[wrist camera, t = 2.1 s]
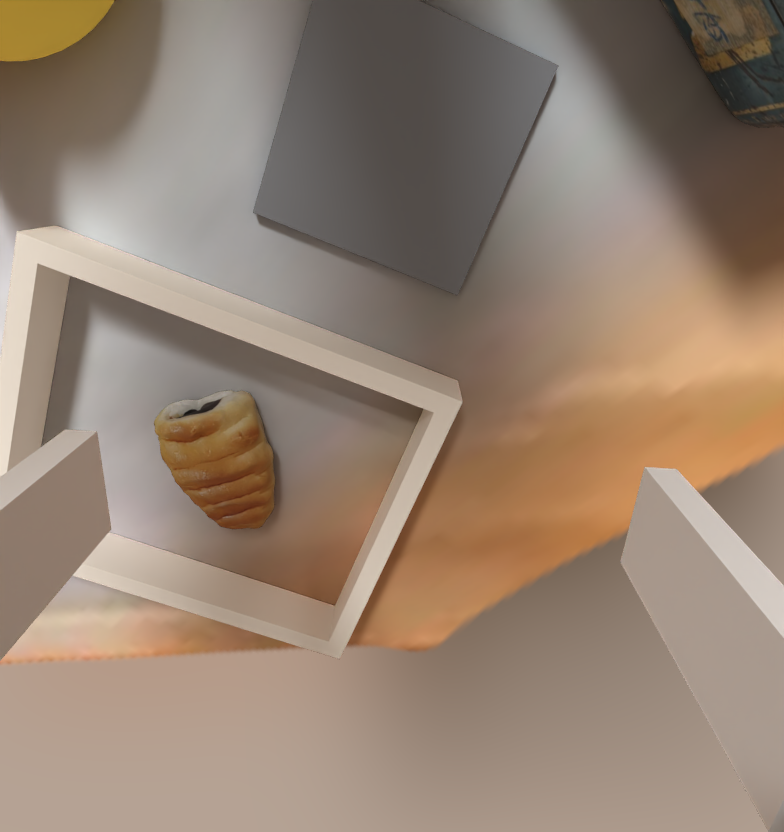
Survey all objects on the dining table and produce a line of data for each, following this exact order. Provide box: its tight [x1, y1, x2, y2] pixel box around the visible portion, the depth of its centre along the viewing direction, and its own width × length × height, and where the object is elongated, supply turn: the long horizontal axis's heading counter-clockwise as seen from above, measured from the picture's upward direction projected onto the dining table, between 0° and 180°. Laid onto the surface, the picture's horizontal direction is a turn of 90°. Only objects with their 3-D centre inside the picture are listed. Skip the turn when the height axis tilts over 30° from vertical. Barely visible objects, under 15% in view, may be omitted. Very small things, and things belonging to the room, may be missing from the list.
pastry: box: [154, 390, 275, 529], centre depth 36 cm, size 9×7×4 cm
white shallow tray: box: [0, 225, 463, 659], centre depth 36 cm, size 24×20×4 cm
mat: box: [253, 0, 558, 295], centre depth 30 cm, size 12×12×1 cm
